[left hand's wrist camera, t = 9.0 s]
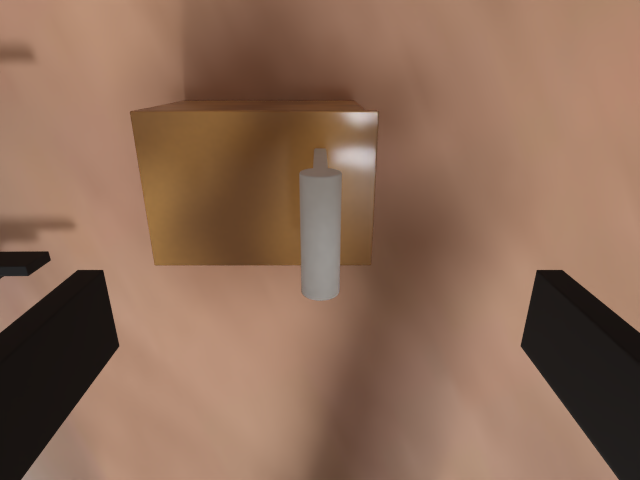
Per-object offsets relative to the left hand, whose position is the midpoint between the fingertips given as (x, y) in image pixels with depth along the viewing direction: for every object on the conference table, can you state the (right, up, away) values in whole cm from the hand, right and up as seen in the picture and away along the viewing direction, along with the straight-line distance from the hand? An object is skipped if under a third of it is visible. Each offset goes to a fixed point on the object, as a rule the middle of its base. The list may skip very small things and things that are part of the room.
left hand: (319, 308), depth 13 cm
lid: (-4, +5, +13) cm, 15 cm away
